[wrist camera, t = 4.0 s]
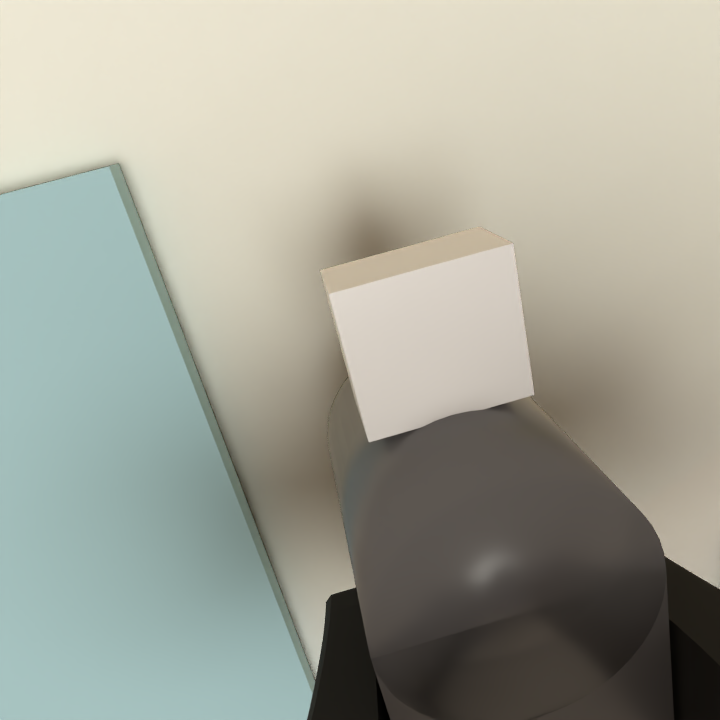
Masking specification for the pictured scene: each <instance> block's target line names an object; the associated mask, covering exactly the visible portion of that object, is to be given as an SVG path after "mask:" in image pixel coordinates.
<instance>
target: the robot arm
mask: <svg viewBox="0 0 720 720" xmlns="http://www.w3.org/2000/svg"><path fill="white" fill-rule="evenodd" d="M664 557H665V556H664ZM665 564H666V575H667V594H668V613H669V632H670V651H671V670H672V689H673V708H674V720H720V589H718V588H716V587H715V586H713V585H711V584H710V583H708V582H706V581H705V580H703V579H701V578H699V577H698V576H696V575H694V574H693V573H691V572H689V571H688V570H686V569H684V568H683V567H681V566H679V565H678V564H676V563H675V562H673V561H671V560H670V559H668V558H667V557H665ZM307 720H390V717H389V714H388V711H387V708H386V705H385V702H384V698H383V695H382V692H381V689H380V686H379V683H378V680H377V677H376V673H375V670H374V667H373V664H372V661H371V657H370V653H369V649H368V644H367V639H366V634H365V629H364V624H363V619H362V614H361V609H360V604H359V599H358V594H357V589H356V588H353V589H350V590H346V591H343V592H340V593H336V594H333V595H331V596H330V597H329V599H328V600H327V602H326V615H325V626H324V634H323V641H322V648H321V654H320V660H319V666H318V671H317V676H316V681H315V685H314V690H313V695H312V699H311V704H310V709H309V713H308V717H307Z"/></svg>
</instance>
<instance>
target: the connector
mask: <svg viewBox="0 0 720 720" xmlns="http://www.w3.org/2000/svg"><path fill="white" fill-rule="evenodd" d="M320 273H321V277H322V280H323V284H324V288H325V292H326V295H327V299H328V303H329V306H330V310H331V314H332V317H333V321H334V325H335V328H336V332H337V336H338V339H339V343H340V347H341V350H342V354H343V358H344V361H345V365H346V369H347V372H348V378H347V379H346V380H345V382H344V383H343V385H342V386H341V388H340V389H339V391H338V393H337V395H336V397H335V399H334V402H333V404H332V407H331V410H330V414H329V419H328V427H327V439H328V448H329V453H330V458H331V463H332V468H333V473H334V478H335V483H336V488H337V493H338V498H339V503H340V508H341V513H342V518H343V523H344V528H345V533H346V538H347V543H348V548H349V553H350V558H351V564H352V569H353V574H354V579H355V584H356V589H357V594H358V599H359V604H360V609H361V614H362V619H363V624H364V629H365V634H366V639H367V644H368V649H369V653H370V657H371V661H372V664H373V667H374V670H375V673H376V677H377V680H378V683H379V686H380V689H381V692H382V695H383V698H384V702H385V705H386V708H387V711H388V714H389V717H390V720H674V708H673V689H672V670H671V651H670V632H669V613H668V594H667V575H666V564H665V557H664V552H663V549H662V546H661V543H660V539H659V538H658V536H657V534H656V532H655V530H654V528H653V526H652V525H651V524H650V522H649V521H648V520H647V519H646V517H645V516H644V515H643V514H642V513H641V511H640V510H639V509H638V508H637V507H636V506H635V505H634V504H633V503H632V502H631V501H630V500H629V499H628V498H627V497H626V496H625V495H624V494H623V493H622V492H621V491H620V490H619V489H618V488H617V487H616V486H615V484H614V483H613V482H612V481H611V480H610V479H609V478H608V477H607V476H606V475H605V474H604V473H603V472H602V471H601V470H600V469H599V468H598V467H597V466H596V465H595V464H594V463H593V462H592V461H591V460H590V459H589V457H588V456H587V455H586V454H585V453H584V452H583V451H582V450H581V449H580V448H579V447H578V446H577V445H576V444H575V443H574V442H573V441H572V440H571V439H570V438H569V437H568V436H567V435H566V434H565V433H564V432H563V430H562V429H561V428H560V427H559V426H558V425H557V424H556V423H555V422H554V421H553V420H552V419H551V418H550V417H549V416H548V415H547V414H546V413H545V412H544V411H543V410H542V409H541V408H540V407H539V406H538V405H537V404H536V402H535V401H534V400H533V399H532V398H531V397H530V396H532V395H535V394H534V387H533V380H532V373H531V365H530V358H529V351H528V344H527V337H526V330H525V323H524V316H523V309H522V302H521V295H520V288H519V280H518V273H517V266H516V259H515V252H514V245H513V243H512V242H510V241H508V240H506V239H504V238H502V237H500V236H498V235H496V234H494V233H492V232H490V231H488V230H485V229H483V228H481V227H476V228H472V229H468V230H465V231H461V232H457V233H454V234H450V235H446V236H443V237H439V238H435V239H432V240H428V241H424V242H421V243H417V244H413V245H410V246H406V247H403V248H399V249H395V250H392V251H388V252H384V253H381V254H377V255H373V256H370V257H366V258H362V259H359V260H355V261H351V262H348V263H344V264H340V265H337V266H333V267H329V268H326V269H322V270H320Z"/></svg>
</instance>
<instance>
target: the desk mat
mask: <svg viewBox="0 0 720 720" xmlns="http://www.w3.org/2000/svg"><path fill="white" fill-rule="evenodd" d="M314 685H315V680H314V677H313V674H312V672H311V669H310V666H309V664H308V661H307V659H306V656H305V653H304V651H303V648H302V645H301V643H300V640H299V637H298V635H297V632H296V630H295V627H294V624H293V622H292V619H291V616H290V614H289V611H288V608H287V606H286V603H285V601H284V598H283V595H282V593H281V590H280V587H279V585H278V582H277V579H276V577H275V574H274V572H273V569H272V566H271V564H270V561H269V558H268V556H267V553H266V550H265V548H264V545H263V543H262V540H261V537H260V535H259V532H258V529H257V527H256V524H255V521H254V519H253V516H252V514H251V511H250V508H249V506H248V503H247V500H246V498H245V495H244V492H243V490H242V487H241V485H240V482H239V479H238V477H237V474H236V471H235V469H234V466H233V463H232V461H231V458H230V456H229V453H228V450H227V448H226V445H225V442H224V440H223V437H222V434H221V432H220V429H219V427H218V424H217V421H216V419H215V416H214V413H213V411H212V408H211V405H210V403H209V400H208V398H207V395H206V392H205V390H204V387H203V384H202V382H201V379H200V376H199V374H198V371H197V369H196V366H195V363H194V361H193V358H192V355H191V353H190V350H189V347H188V345H187V342H186V340H185V337H184V334H183V332H182V329H181V326H180V324H179V321H178V318H177V316H176V313H175V311H174V308H173V305H172V303H171V300H170V297H169V295H168V292H167V289H166V287H165V284H164V282H163V279H162V276H161V274H160V271H159V268H158V266H157V263H156V260H155V258H154V255H153V253H152V250H151V247H150V245H149V242H148V239H147V237H146V234H145V231H144V229H143V226H142V224H141V221H140V218H139V216H138V213H137V210H136V208H135V205H134V202H133V200H132V197H131V195H130V192H129V189H128V187H127V184H126V181H125V179H124V176H123V173H122V171H121V168H120V165H119V164H115V165H111V166H107V167H103V168H99V169H96V170H92V171H88V172H84V173H80V174H76V175H73V176H69V177H65V178H61V179H57V180H53V181H50V182H46V183H42V184H38V185H34V186H30V187H27V188H23V189H19V190H15V191H11V192H7V193H4V194H0V720H307V717H308V713H309V709H310V704H311V699H312V695H313V690H314Z"/></svg>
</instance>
